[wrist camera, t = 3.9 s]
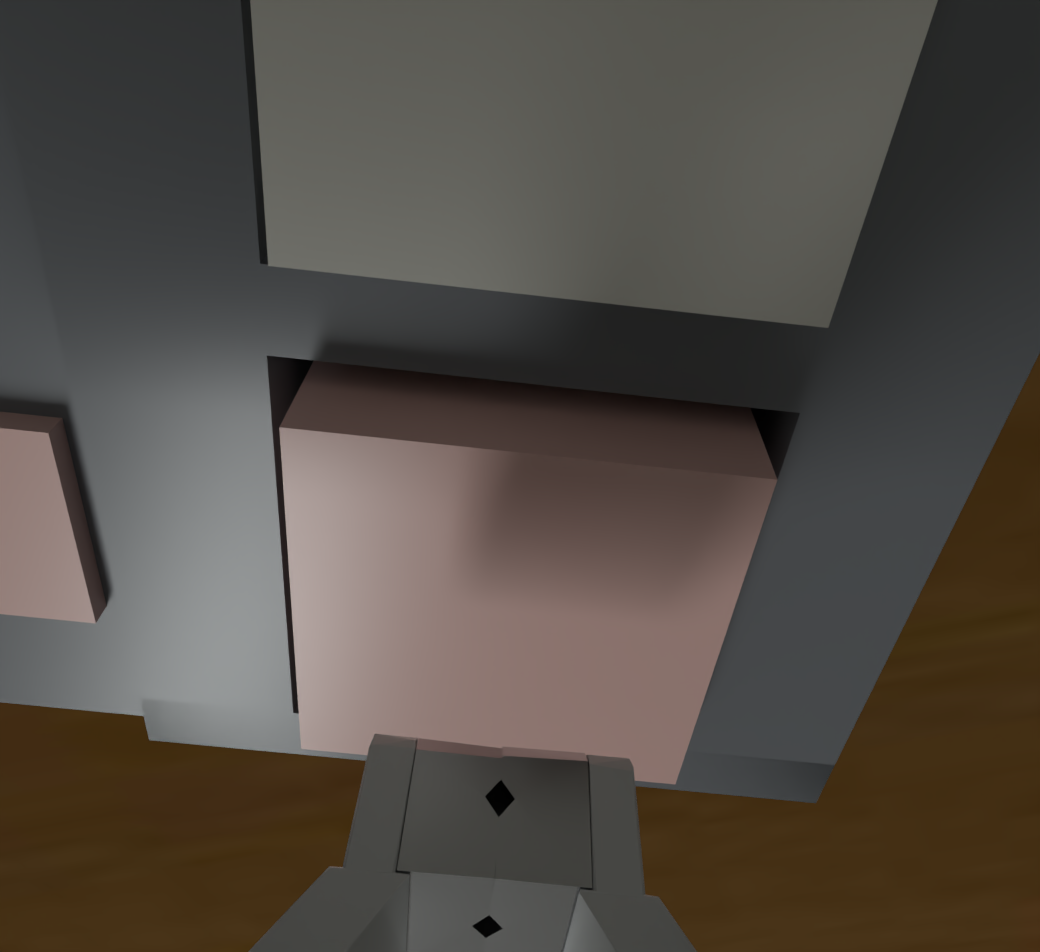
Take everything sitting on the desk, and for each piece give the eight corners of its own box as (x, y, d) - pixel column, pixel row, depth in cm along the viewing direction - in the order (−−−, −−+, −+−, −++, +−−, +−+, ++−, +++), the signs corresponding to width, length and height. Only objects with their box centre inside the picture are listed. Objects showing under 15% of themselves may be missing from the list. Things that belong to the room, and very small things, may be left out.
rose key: (317, 352, 12) (278, 427, 10) (747, 398, 12) (777, 480, 10) (328, 655, 15) (301, 749, 14) (662, 688, 15) (675, 784, 14)
